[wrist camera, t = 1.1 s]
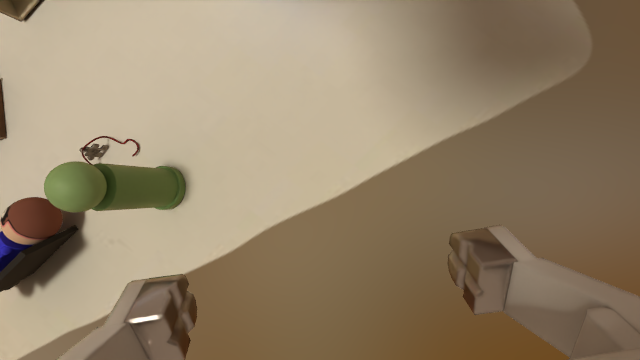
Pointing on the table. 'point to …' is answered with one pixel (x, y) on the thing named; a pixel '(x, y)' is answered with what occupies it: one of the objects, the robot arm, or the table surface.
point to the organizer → (17, 8)
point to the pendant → (99, 149)
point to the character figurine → (29, 238)
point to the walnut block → (2, 116)
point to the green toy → (113, 187)
